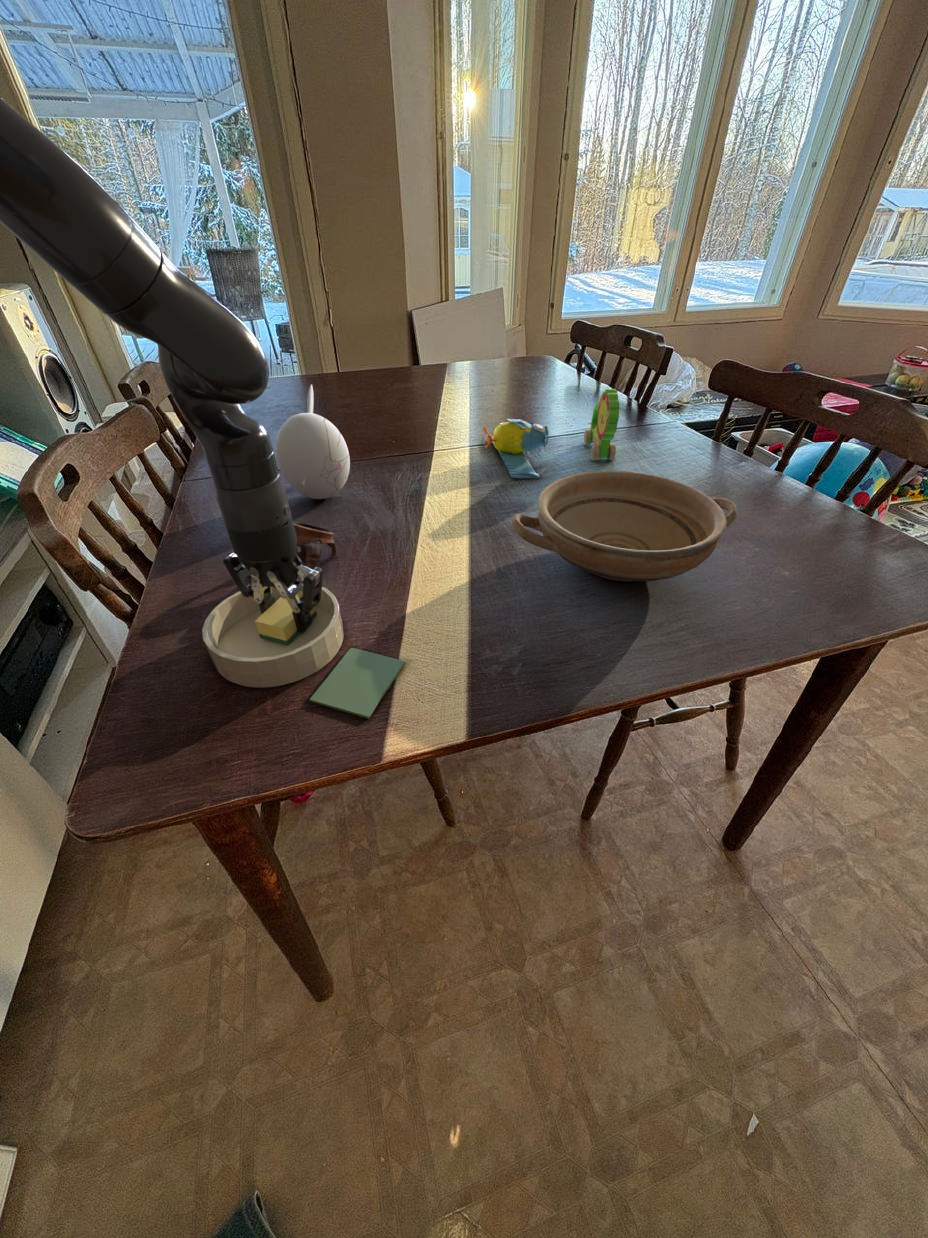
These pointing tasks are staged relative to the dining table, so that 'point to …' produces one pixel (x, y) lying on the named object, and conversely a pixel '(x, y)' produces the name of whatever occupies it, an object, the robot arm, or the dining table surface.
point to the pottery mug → (312, 543)
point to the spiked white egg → (312, 454)
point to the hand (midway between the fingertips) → (288, 624)
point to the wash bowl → (269, 643)
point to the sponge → (279, 623)
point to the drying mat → (358, 682)
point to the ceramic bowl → (627, 524)
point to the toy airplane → (517, 445)
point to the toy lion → (603, 426)
